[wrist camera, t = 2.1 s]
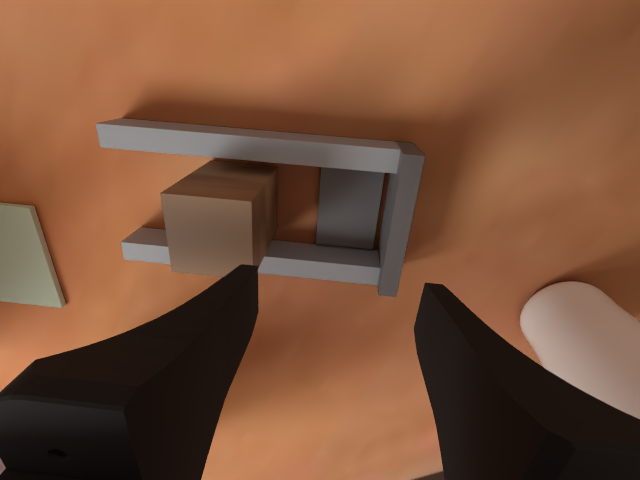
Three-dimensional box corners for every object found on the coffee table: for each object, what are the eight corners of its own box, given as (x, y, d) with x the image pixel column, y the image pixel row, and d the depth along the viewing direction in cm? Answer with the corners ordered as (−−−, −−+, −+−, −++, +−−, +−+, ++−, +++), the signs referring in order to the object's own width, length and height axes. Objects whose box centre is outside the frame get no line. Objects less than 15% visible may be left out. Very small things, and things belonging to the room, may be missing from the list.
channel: (390, 267, 22) (396, 296, 20) (143, 243, 23) (114, 267, 20) (413, 143, 19) (425, 156, 16) (121, 118, 20) (81, 126, 17)
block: (277, 228, 22) (253, 280, 17) (215, 222, 22) (171, 271, 17) (278, 166, 20) (251, 201, 15) (210, 160, 20) (160, 193, 15)
